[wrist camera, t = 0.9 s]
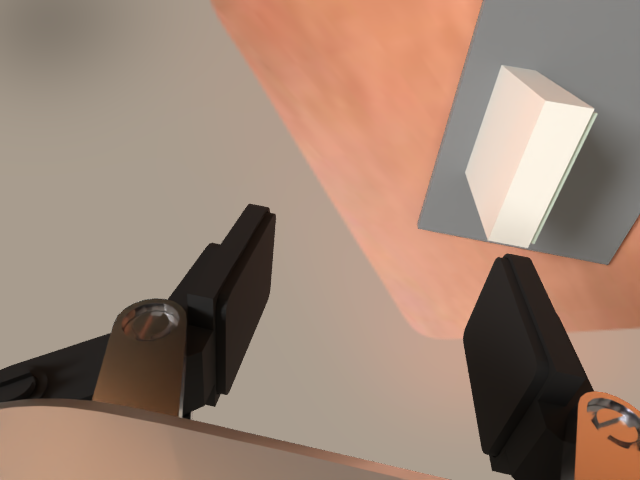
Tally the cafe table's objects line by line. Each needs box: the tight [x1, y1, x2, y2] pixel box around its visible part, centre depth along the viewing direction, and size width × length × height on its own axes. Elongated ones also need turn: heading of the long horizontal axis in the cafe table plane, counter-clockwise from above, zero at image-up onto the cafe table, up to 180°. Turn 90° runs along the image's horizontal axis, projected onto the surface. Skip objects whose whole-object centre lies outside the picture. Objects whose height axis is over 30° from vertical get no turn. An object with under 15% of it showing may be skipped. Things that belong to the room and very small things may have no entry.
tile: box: [465, 65, 598, 248], centre depth 23 cm, size 2×7×9 cm, turn 172°
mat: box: [418, 0, 640, 265], centre depth 27 cm, size 14×17×1 cm
